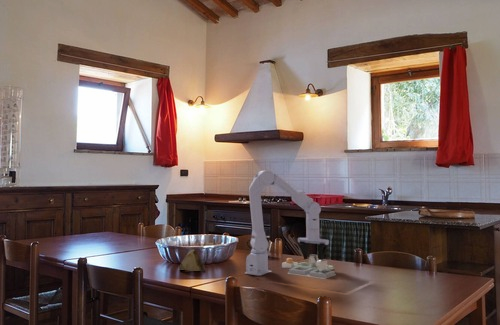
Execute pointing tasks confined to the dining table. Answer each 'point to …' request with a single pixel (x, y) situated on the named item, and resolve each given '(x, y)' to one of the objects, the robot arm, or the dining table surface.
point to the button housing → (288, 265)
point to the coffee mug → (266, 238)
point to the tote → (311, 267)
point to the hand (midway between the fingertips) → (313, 259)
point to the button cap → (290, 260)
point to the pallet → (310, 272)
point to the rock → (192, 262)
